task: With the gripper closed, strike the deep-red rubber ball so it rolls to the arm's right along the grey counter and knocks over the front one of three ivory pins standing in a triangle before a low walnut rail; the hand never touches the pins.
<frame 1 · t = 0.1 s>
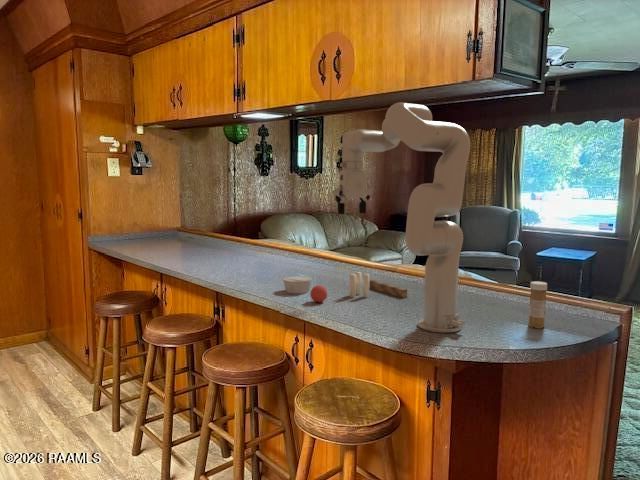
hand: (351, 213, 178), 31 cm above the counter, tool pointing down, fingers open, 9 cm apart
sprinkles bottle: (536, 327, 145), on the counter
far pin: (358, 294, 186), on the counter
near pin: (366, 296, 182), on the counter
ramekin: (297, 292, 191), on the counter
ball: (318, 293, 173), on the counter
front pin: (352, 296, 181), on the counter
walnut rail: (385, 291, 190), on the counter
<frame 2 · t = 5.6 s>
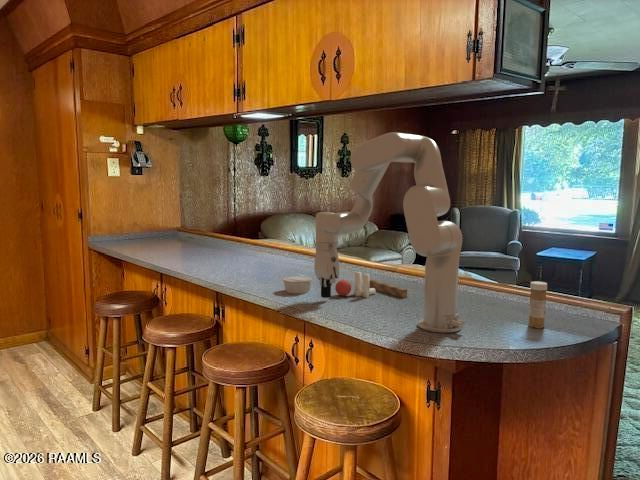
hand: (325, 296, 175), 2 cm above the counter, tool pointing down, fingers closed
ball: (343, 287, 183), on the counter
front pin: (355, 293, 182), point 1 cm above the counter, tilted 90°
everything else where it was.
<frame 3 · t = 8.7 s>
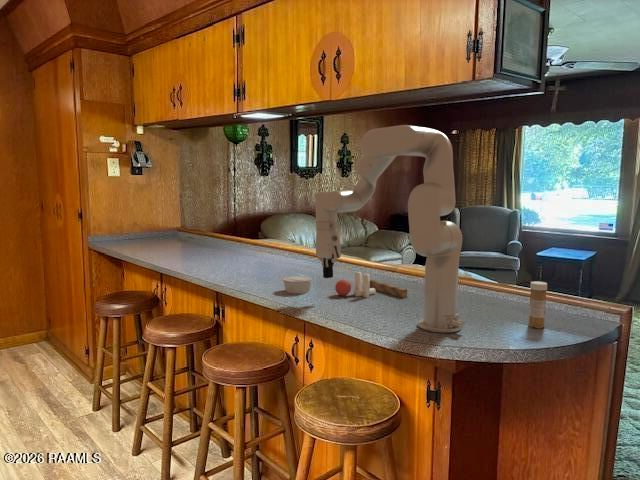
hand: (328, 277, 173), 9 cm above the counter, tool pointing down, fingers closed
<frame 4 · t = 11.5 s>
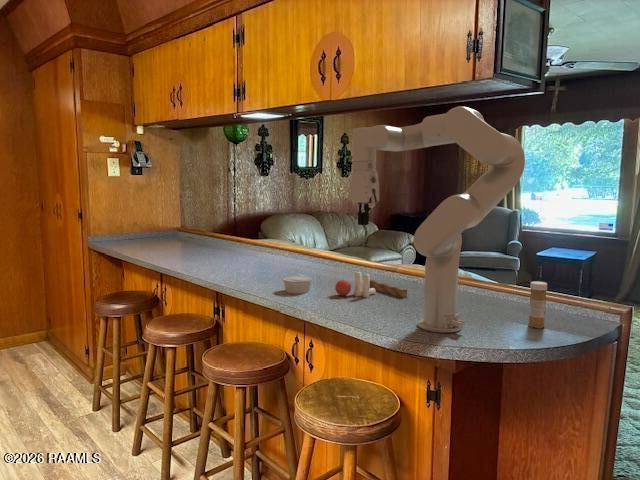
hand: (363, 224, 157), 29 cm above the counter, tool pointing down, fingers closed
nothing on the counter moved.
at the end: 1 of 3 knocked over (down: front pin; still standing: near pin, far pin); front pin never touched the robot; ball moved 13.7 cm from its start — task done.
